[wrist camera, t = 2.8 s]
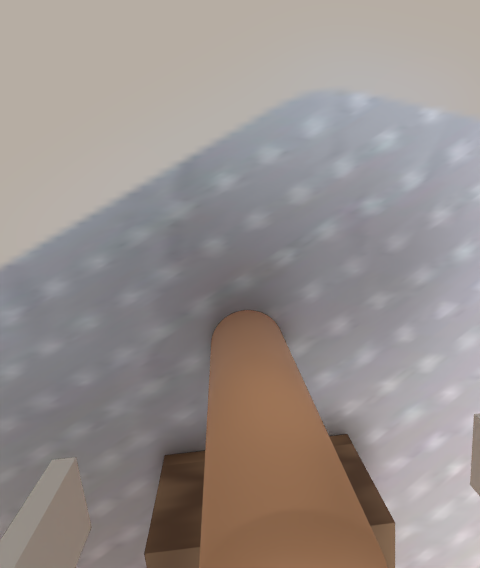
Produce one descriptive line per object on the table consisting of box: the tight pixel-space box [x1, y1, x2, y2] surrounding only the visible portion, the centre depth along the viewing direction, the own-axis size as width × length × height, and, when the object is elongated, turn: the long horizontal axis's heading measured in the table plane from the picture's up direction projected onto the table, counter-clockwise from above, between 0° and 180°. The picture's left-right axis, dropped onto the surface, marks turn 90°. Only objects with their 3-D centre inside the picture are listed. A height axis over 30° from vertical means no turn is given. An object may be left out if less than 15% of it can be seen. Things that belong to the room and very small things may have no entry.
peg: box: [199, 310, 387, 568], centre depth 16 cm, size 4×4×15 cm
